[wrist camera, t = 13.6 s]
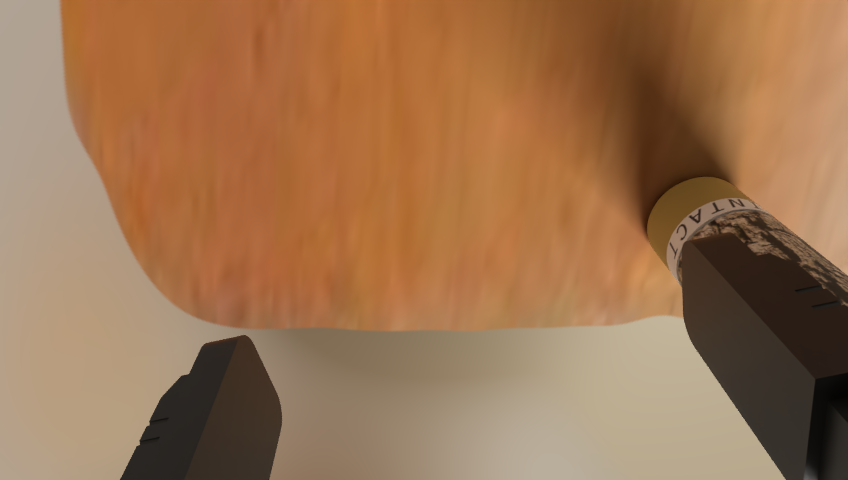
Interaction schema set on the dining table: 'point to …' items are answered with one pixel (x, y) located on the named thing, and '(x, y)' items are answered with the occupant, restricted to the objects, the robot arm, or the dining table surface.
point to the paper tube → (731, 229)
